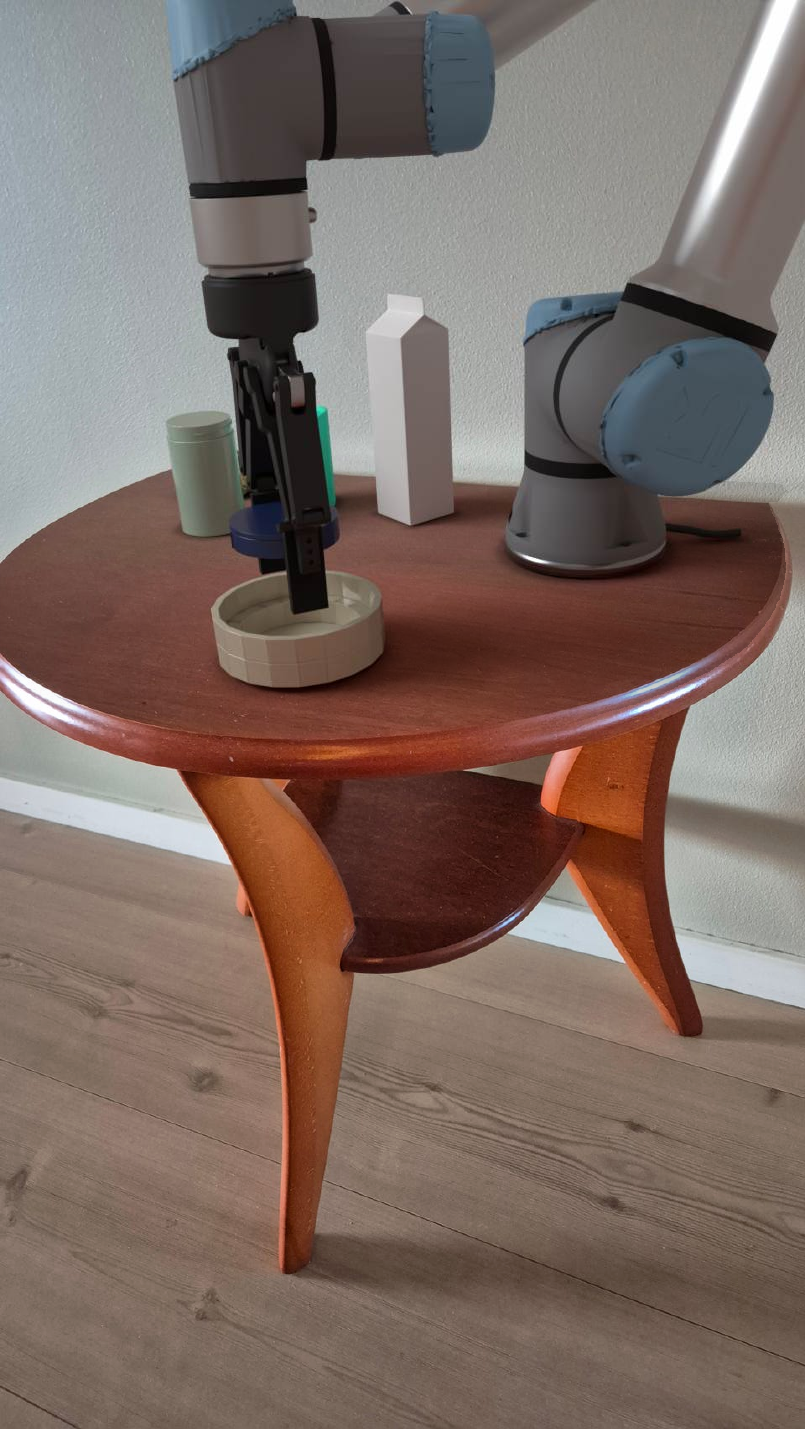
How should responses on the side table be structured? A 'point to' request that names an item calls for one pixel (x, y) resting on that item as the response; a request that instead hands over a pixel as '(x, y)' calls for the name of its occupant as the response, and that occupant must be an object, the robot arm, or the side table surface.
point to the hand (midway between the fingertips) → (292, 588)
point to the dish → (298, 631)
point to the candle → (326, 451)
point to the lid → (270, 530)
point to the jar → (205, 471)
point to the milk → (410, 412)
